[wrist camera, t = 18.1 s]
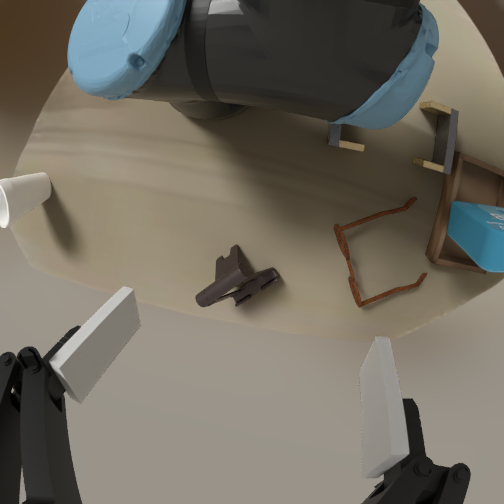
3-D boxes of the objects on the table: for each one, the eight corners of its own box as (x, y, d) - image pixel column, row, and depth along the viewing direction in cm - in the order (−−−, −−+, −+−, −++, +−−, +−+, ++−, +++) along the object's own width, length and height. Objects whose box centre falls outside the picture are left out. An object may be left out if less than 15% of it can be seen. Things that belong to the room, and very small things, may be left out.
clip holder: (333, 82, 29) (335, 76, 26) (445, 112, 27) (458, 111, 23) (327, 143, 33) (328, 145, 29) (437, 169, 30) (450, 174, 27)
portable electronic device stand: (239, 300, 46) (225, 332, 39) (207, 266, 45) (186, 294, 37) (280, 274, 43) (272, 305, 35) (246, 235, 41) (230, 261, 34)
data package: (506, 207, 27) (554, 239, 16) (501, 236, 28) (544, 273, 18) (447, 199, 29) (494, 231, 18) (442, 231, 31) (483, 273, 20)
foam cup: (50, 214, 49) (7, 237, 37) (30, 191, 48) (-11, 209, 36) (59, 180, 44) (10, 199, 33) (38, 157, 43) (-8, 172, 32)
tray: (450, 150, 29) (459, 152, 26) (503, 172, 27) (514, 176, 24) (425, 254, 36) (431, 263, 33) (477, 265, 34) (485, 273, 31)
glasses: (331, 220, 38) (333, 232, 33) (415, 195, 33) (427, 205, 29) (352, 295, 42) (355, 314, 38) (426, 274, 38) (437, 290, 33)
